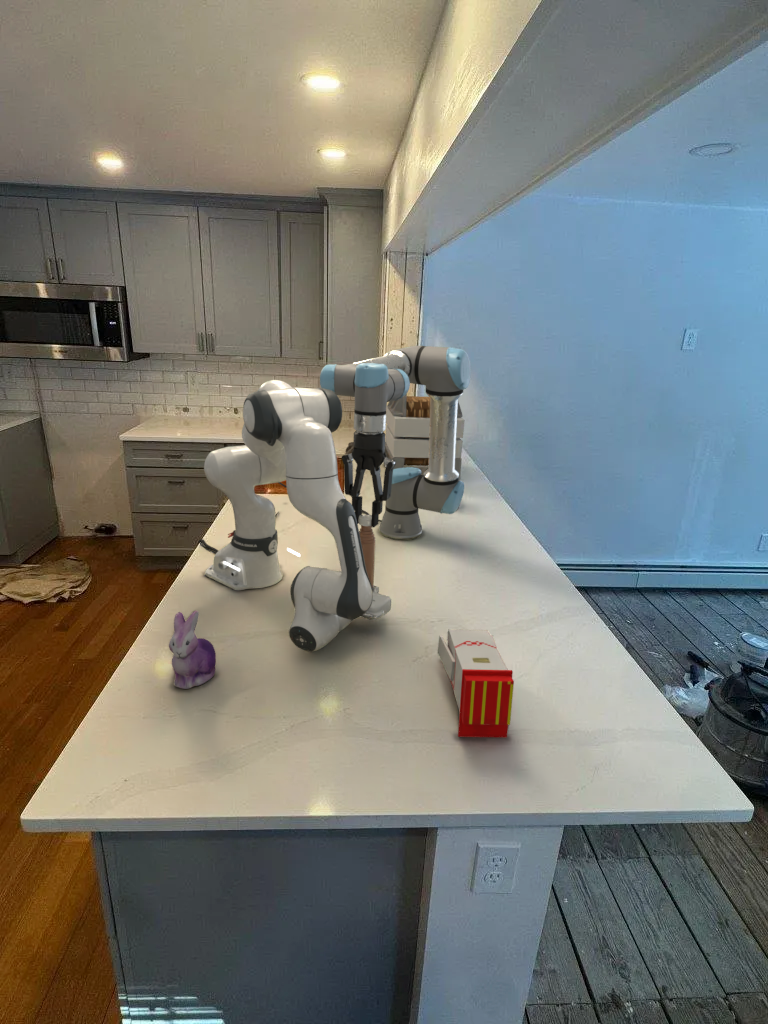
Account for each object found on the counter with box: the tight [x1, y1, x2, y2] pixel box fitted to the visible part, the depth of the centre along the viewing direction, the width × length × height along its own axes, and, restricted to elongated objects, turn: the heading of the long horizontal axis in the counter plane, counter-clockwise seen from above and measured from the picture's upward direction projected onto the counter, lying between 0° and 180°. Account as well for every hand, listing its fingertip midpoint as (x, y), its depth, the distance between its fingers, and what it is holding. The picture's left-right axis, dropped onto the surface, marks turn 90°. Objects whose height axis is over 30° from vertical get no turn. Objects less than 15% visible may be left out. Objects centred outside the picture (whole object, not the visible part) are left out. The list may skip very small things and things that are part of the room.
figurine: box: [168, 610, 217, 690], centre depth 117 cm, size 9×10×15 cm
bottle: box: [359, 525, 376, 587], centre depth 145 cm, size 5×5×25 cm
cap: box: [358, 514, 372, 526], centre depth 141 cm, size 4×4×2 cm
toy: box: [437, 628, 515, 738], centre depth 117 cm, size 12×13×30 cm
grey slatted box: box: [382, 393, 465, 481], centre depth 268 cm, size 34×33×41 cm
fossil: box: [344, 441, 354, 455], centre depth 304 cm, size 22×10×15 cm
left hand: (365, 585), depth 148 cm, fingers closed on bottle, 5 cm apart
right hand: (366, 523), depth 141 cm, fingers closed on cap, 4 cm apart
